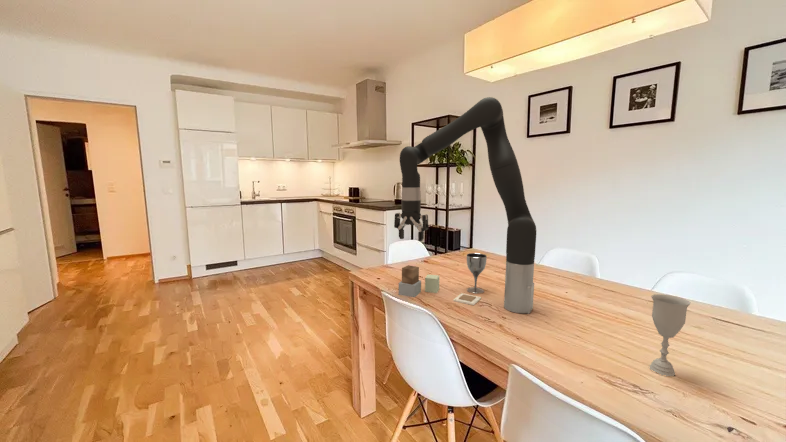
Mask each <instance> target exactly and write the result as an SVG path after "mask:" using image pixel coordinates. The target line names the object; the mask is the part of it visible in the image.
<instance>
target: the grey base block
mask: <svg viewBox="0 0 786 442" xmlns="http://www.w3.org/2000/svg"><path fill="white" fill-rule="evenodd" d="M420 293H422V280H421V279H419V282H417V283H415V284H413V285H411V284H406V283H402V280H401V281H399V282H398V295H399V296H403V297H411V298H416V297H417V296H418V295H419V294H420Z"/></svg>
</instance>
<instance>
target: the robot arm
mask: <svg viewBox="0 0 786 442" xmlns="http://www.w3.org/2000/svg"><path fill="white" fill-rule="evenodd" d="M478 128H480V129H481V132H482V134H483V137H484V139H485V143H486V148H487V156H488V157H487V158H488V164H489V170H490V173H491V176H492V179H493V183H494V186H495V187H496V190H497V192H498V195H499V197H500V199H501V201H502V203H503V205H504V209H505V213H506V218H507V220H506V221H507V228H506V248H505V251H506V252H505V253H506V254H505V255H506V257H505V258H506V259H505V281H504V296H503V297H504V299H503V307H504V309H505V310H506V311H509V312H512V313H517V314H528V315H529V314H531V312H532V310H533V307H534V295H535V283H534V273H535V272H534V270H535V259H536V246H537V245H536V243H537V225H536V223H535V221H534V219H533V217H532V214H531V213H530V212H531V211H530V209H529V206H528V204H527V200H526V197H525V189H524V184H523V183H524V182H523V177H522V173H521V170H520V165H519V163H518V160H517V156H516V154H515V151H514V149H513V147H512V145H511V143H510V141H509V138H508V134H507V130H506V129H507V128H506V124H505V119H504V110H503V107H502V104H501V102H500V101H499V99H497V98H495V97H493V96H491V97H490V96H488V97H483V98H482V99H480V100H479V101H478V102H476V103H475V104H474V105H473V106H472V107H471V108H468V110H466V112H464V113H462V114H461V115H460V116H459V117H457V118H456V119H455V120H453V121H451V122H449V123H448V124H446V125H444V126H443V127H441V128H439V129H438V130H436V131H434V132H432V133H431V134H429V135H427V136H426V137H424V138H423V139H422V140H421V142H420V143H418V144H417V145H415V146H405V147H403V148H402V149H401V151H400V154H399V167H400V172H401V176H402V178H401V185H402V186H401V196H400V197H401V213H400V212H395V213H394V220H393V221H394V223H393V224H394V229H398V238H399V239H400V240H404V239H405V229H404V228H405V227H406V226H408V225H409V226H414V227H415V228H416V230H418V233H417V235H418V238H417V239H418V240H417V241H418V242H422V241H423V240H424V239H425V238H424V237H425V231H427V230H429V215H428V214H421V210H422V209H421V208H422V207H421V206H422V205H421V204H422V203H421V201H422V200H421V196H422V195H421V194H422V193H421V175H420V173H419V172H418V165H421V164H422V163H423V162H424V161H425V162H426V160H428V159H429V158H430V157H431V156H433V155H435V154H437V153H439V152H441V151H442V150H445V149H446V148H448V147H450V146H451V145H452V144H454V143H455V142H456V141H458V140H459V139H460V138H462V137H463V136H464V135H466V134H467V133H469V132H472V131H473V130H476V129H478ZM401 219H402V220H401ZM421 221H422V222H421Z"/></svg>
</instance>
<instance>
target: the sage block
mask: <svg viewBox="0 0 786 442" xmlns="http://www.w3.org/2000/svg"><path fill="white" fill-rule="evenodd" d="M439 290H440V274H439V275H437V274H427V275H426V276H425V277H424V292H425V293H430V294H431V293H432V294H438V292H439Z"/></svg>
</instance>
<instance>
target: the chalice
mask: <svg viewBox="0 0 786 442" xmlns="http://www.w3.org/2000/svg"><path fill="white" fill-rule="evenodd" d="M650 297H651V299H652V301H653V302H652V303H653V304H652V312H651V318H652V321H653V324H654V326H655V329H656V330H657V333H658V335H660V336H661V337H662V342H661V343H660V345H661V347H662V348H661V349H660V350H659V352H660V355H661V357H659V358H654V359H653V361H652V362H651V363H650V364H649V366H650V368H649V370H651V371H652V370H653V371H655V372H657V373H659V374H661V375H660V376H663V375H666V376H665V377H667V376H674V375H675V373H676V372H675V368H674V366H673V364H672V363H671V362H670V361H669V360H668V359H667V356H668V355H669V354H670V352H669V350H668V348H669V347H670V343H669V339H671V338H675V337H676V336H677V335H678V334H679V333H680V331H681V329H683V327H684V325H685V324H686V319H687V311H688V307H689V306H690V305H691V304H692V303H691V300H688V299H686V298H683V297H680V296H676V295H670V294H664V293H663V294H660V293H657V294H653V295H651V296H650ZM653 371H652V372H653ZM655 372H654V373H655ZM657 373H656V374H657ZM659 374H658V375H659ZM674 377H675V376H674Z"/></svg>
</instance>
